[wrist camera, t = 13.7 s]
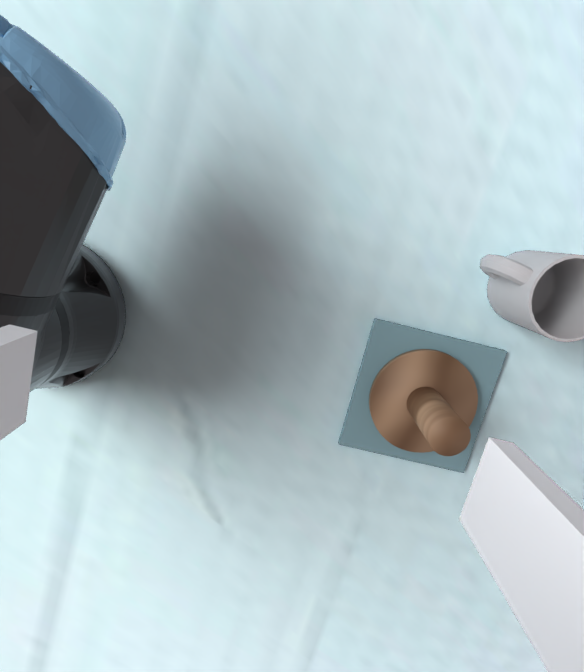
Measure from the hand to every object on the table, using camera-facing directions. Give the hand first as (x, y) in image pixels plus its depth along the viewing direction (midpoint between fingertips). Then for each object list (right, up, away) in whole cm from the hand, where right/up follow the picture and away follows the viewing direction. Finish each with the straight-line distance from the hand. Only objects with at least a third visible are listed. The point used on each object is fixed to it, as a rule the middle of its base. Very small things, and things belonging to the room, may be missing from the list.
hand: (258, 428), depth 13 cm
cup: (+23, +8, +34) cm, 42 cm away
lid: (+15, -4, +36) cm, 39 cm away
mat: (+14, -4, +36) cm, 39 cm away
